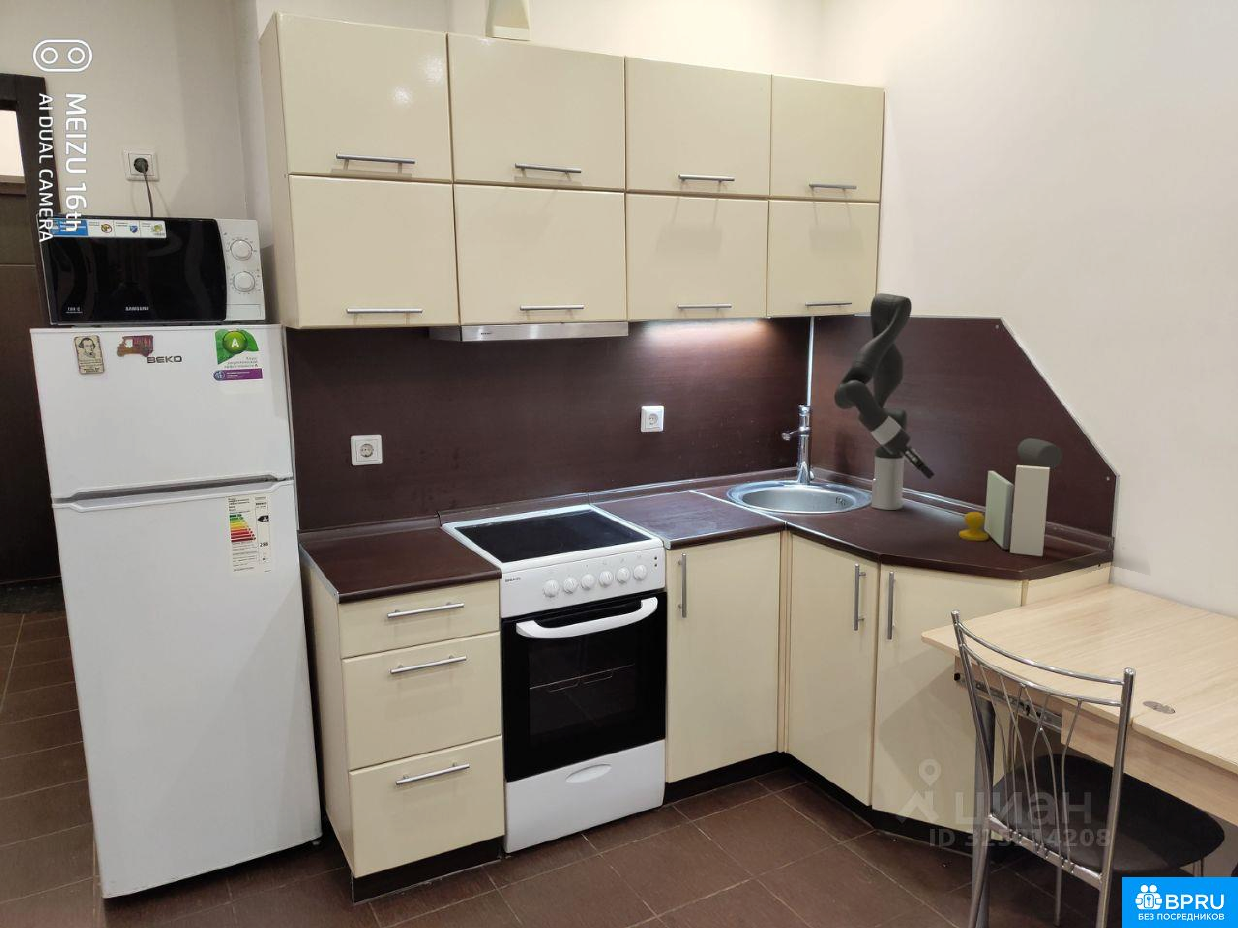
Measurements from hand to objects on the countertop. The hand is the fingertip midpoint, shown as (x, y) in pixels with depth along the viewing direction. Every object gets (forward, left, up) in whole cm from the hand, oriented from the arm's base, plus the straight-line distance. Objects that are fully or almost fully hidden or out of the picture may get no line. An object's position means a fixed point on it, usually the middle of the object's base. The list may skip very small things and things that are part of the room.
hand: (931, 476), depth 258 cm
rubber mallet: (+28, +3, -18) cm, 33 cm away
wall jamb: (+27, -7, -18) cm, 33 cm away
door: (+18, +2, -17) cm, 25 cm away
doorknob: (+12, +4, -18) cm, 22 cm away
